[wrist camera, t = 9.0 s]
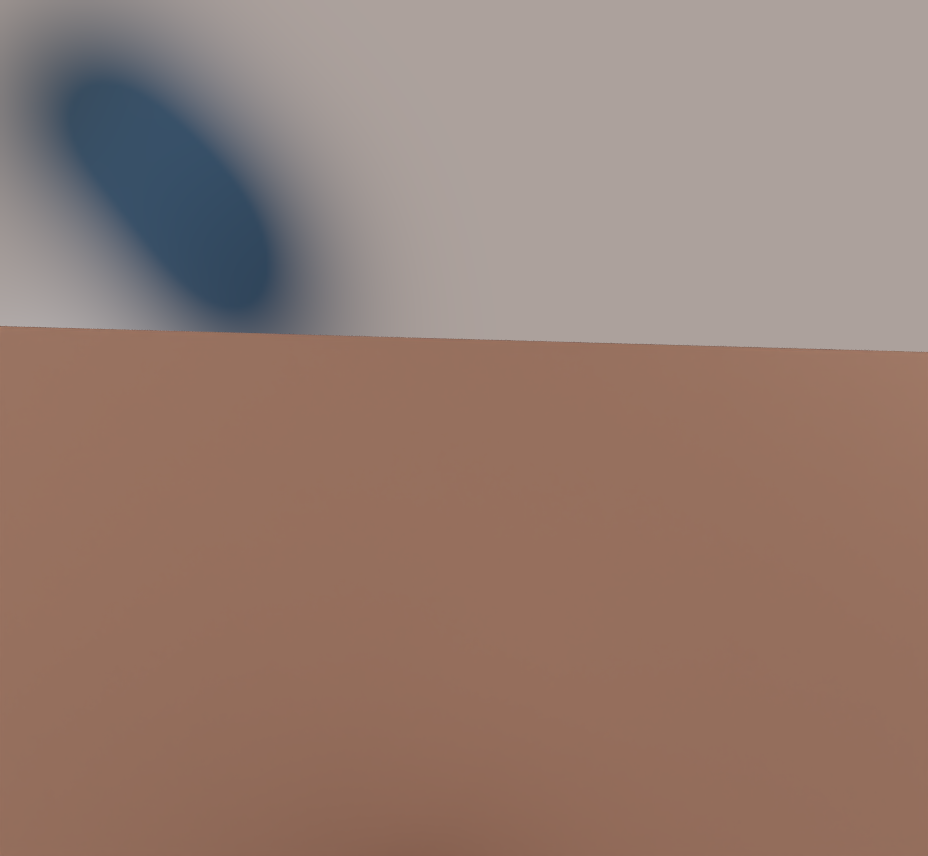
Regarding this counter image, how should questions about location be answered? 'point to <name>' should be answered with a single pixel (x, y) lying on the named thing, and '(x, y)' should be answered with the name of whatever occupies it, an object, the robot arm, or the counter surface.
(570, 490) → the cube with knob
